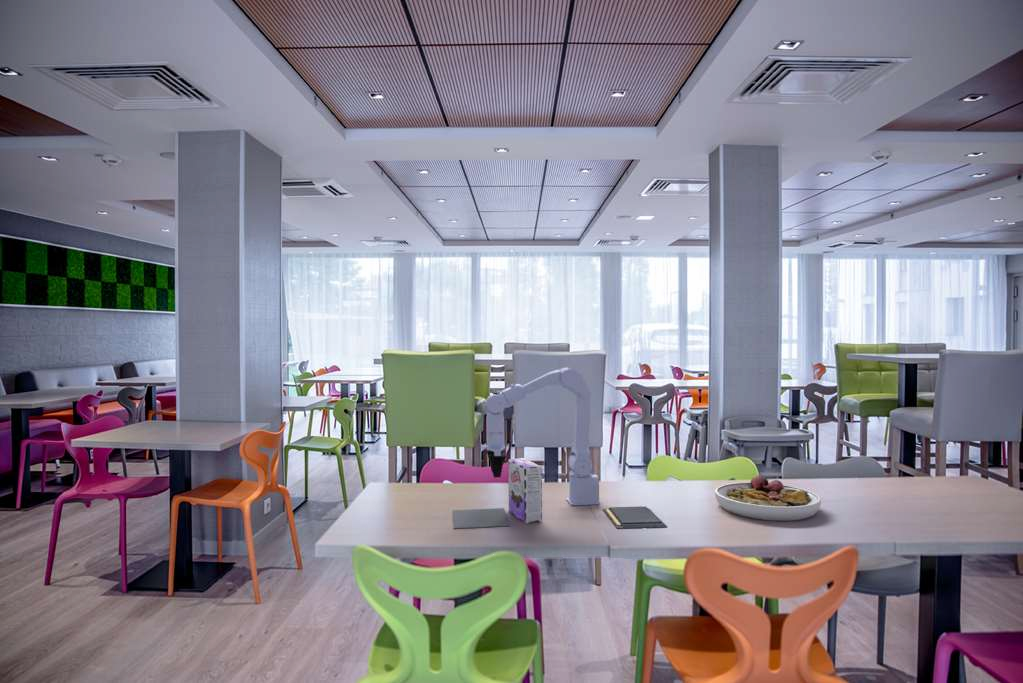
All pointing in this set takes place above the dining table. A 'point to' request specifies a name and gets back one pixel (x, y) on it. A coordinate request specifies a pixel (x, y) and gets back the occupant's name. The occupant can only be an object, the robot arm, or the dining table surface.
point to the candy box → (525, 490)
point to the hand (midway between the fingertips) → (496, 474)
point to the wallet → (633, 518)
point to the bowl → (767, 500)
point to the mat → (480, 518)
